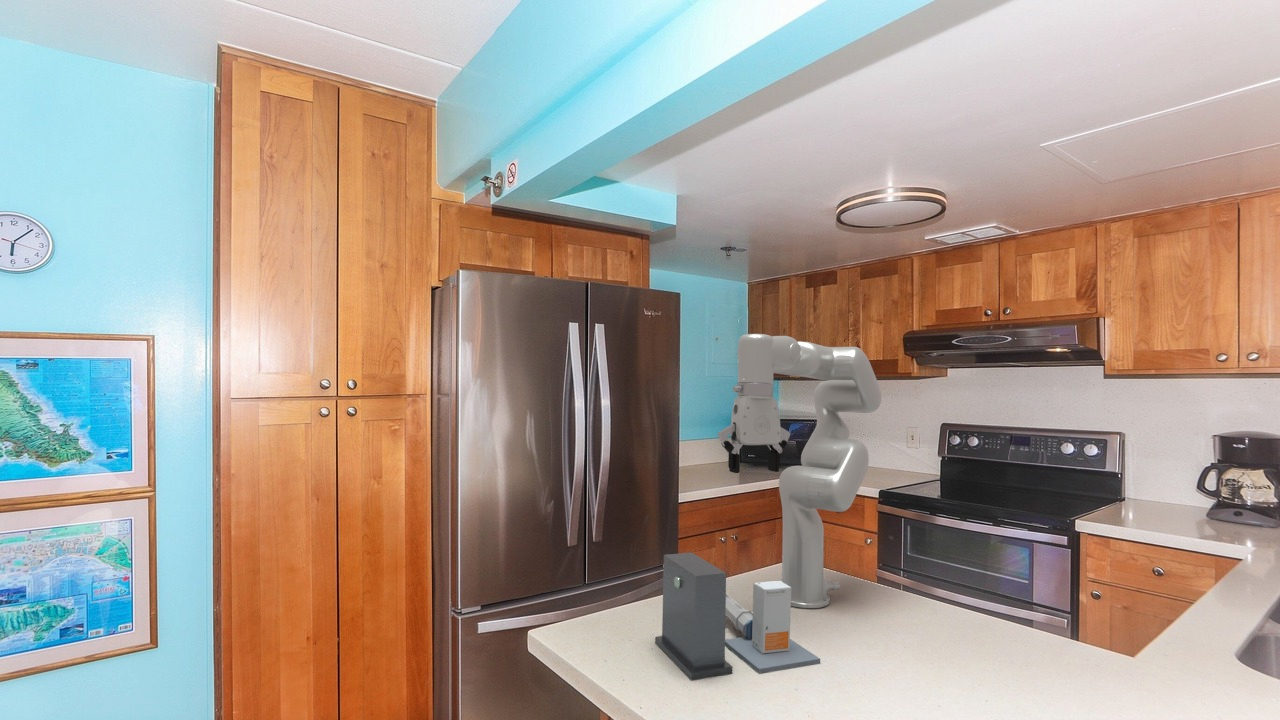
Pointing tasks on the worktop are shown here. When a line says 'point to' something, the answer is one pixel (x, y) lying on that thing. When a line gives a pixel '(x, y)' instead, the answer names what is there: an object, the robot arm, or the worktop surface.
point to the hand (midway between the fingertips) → (754, 471)
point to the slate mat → (771, 656)
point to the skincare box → (771, 616)
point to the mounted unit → (694, 616)
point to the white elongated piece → (739, 617)
